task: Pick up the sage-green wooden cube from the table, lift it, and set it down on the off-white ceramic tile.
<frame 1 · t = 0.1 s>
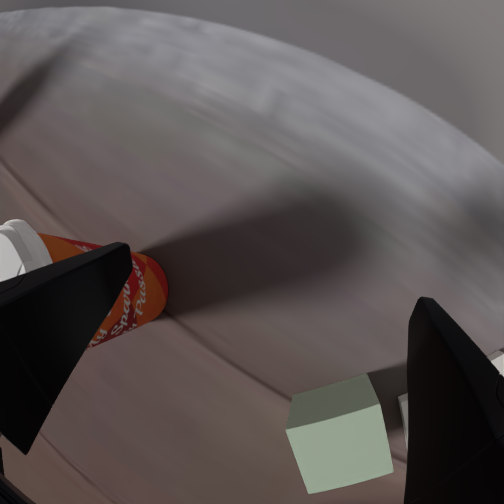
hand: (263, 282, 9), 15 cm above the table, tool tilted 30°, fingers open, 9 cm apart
cube: (338, 415, 22), on the table
tile: (457, 421, 20), on the table
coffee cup: (139, 287, 26), on the table
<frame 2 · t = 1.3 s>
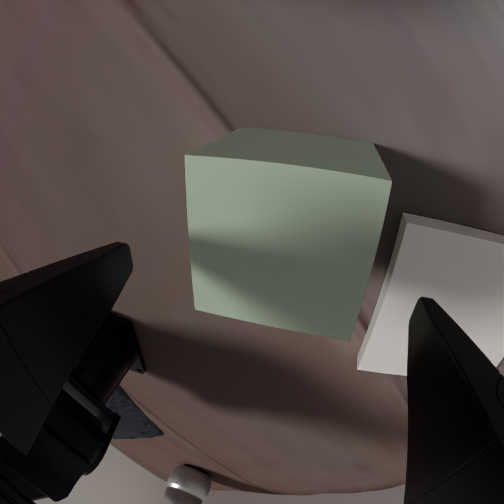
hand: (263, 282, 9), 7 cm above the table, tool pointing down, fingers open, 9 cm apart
cube: (301, 194, 15), on the table
plastic bottle: (196, 469, 40), on the table
tile: (456, 308, 15), on the table
dark slate chunk: (87, 376, 34), on the table
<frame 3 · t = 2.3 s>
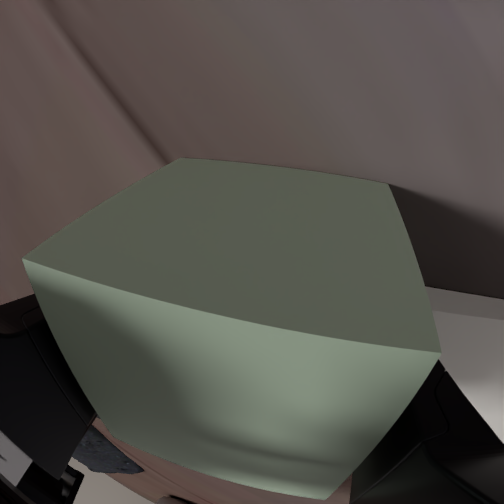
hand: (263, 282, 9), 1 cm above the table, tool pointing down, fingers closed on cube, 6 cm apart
cube: (272, 259, 10), on the table, touching gripper
plastic bottle: (181, 499, 35), on the table
tile: (476, 389, 10), on the table
dark slate chunk: (63, 410, 29), on the table
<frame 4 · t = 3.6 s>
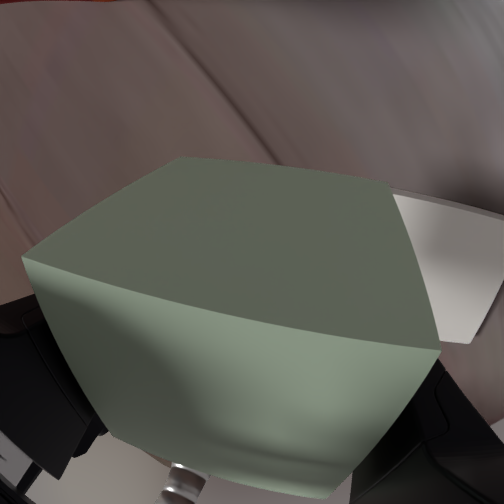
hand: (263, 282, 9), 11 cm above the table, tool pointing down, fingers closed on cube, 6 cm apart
cube: (272, 258, 10), point 10 cm above the table, touching gripper
plastic bottle: (199, 450, 43), on the table
tile: (436, 271, 19), on the table
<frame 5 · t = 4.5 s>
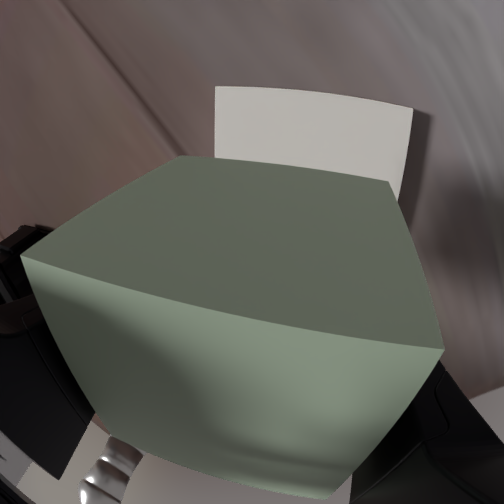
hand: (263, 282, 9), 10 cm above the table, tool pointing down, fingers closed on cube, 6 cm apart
cube: (272, 258, 10), point 9 cm above the table, touching gripper
plastic bottle: (140, 422, 42), on the table
tile: (307, 179, 17), on the table
when the fingers open (3 cm above the table, at t = 6.0 s): cube drops 1 cm, resting on tile.
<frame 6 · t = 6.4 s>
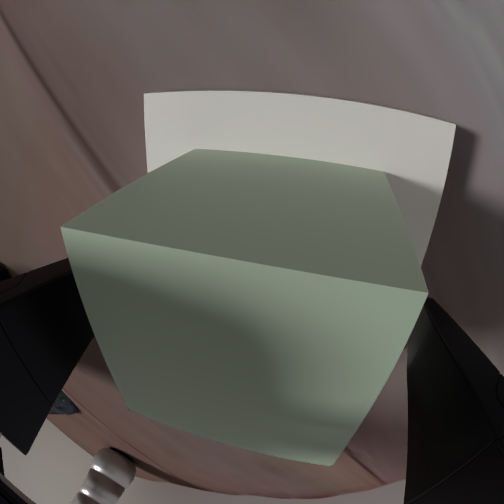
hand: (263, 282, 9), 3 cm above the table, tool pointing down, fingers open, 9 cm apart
cube: (279, 242, 11), point 1 cm above the table, touching tile
plastic bottle: (122, 453, 37), on the table
tile: (286, 229, 12), on the table
dark slate chunk: (13, 346, 31), on the table
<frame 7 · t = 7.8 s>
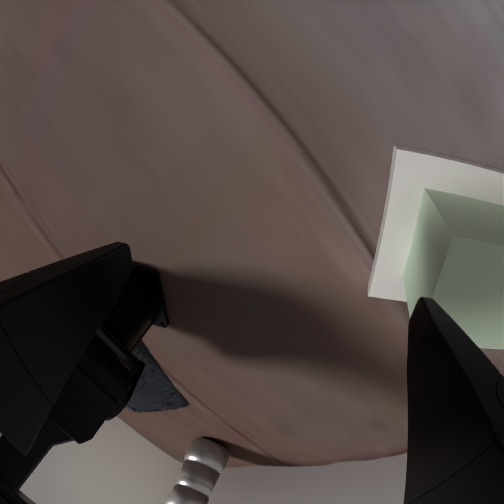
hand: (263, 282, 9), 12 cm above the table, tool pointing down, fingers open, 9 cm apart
cube: (456, 241, 17), point 1 cm above the table, touching tile
plastic bottle: (213, 442, 43), on the table
tile: (451, 234, 18), on the table
dark slate chunk: (113, 348, 37), on the table
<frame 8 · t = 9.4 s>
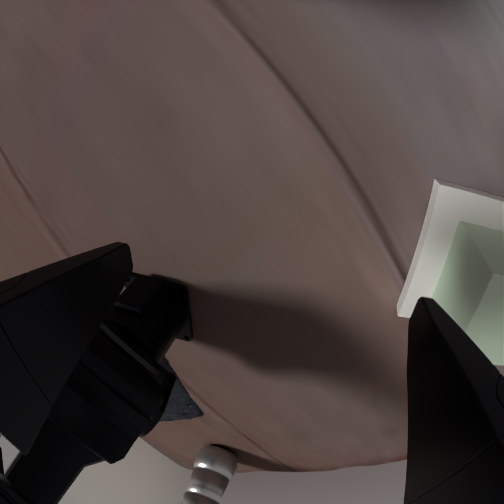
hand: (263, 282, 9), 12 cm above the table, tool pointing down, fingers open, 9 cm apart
cube: (480, 268, 17), point 1 cm above the table, touching tile
plastic bottle: (221, 449, 43), on the table
tile: (475, 260, 18), on the table
dark slate chunk: (128, 358, 37), on the table
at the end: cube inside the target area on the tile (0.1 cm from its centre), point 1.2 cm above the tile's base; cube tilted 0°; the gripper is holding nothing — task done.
